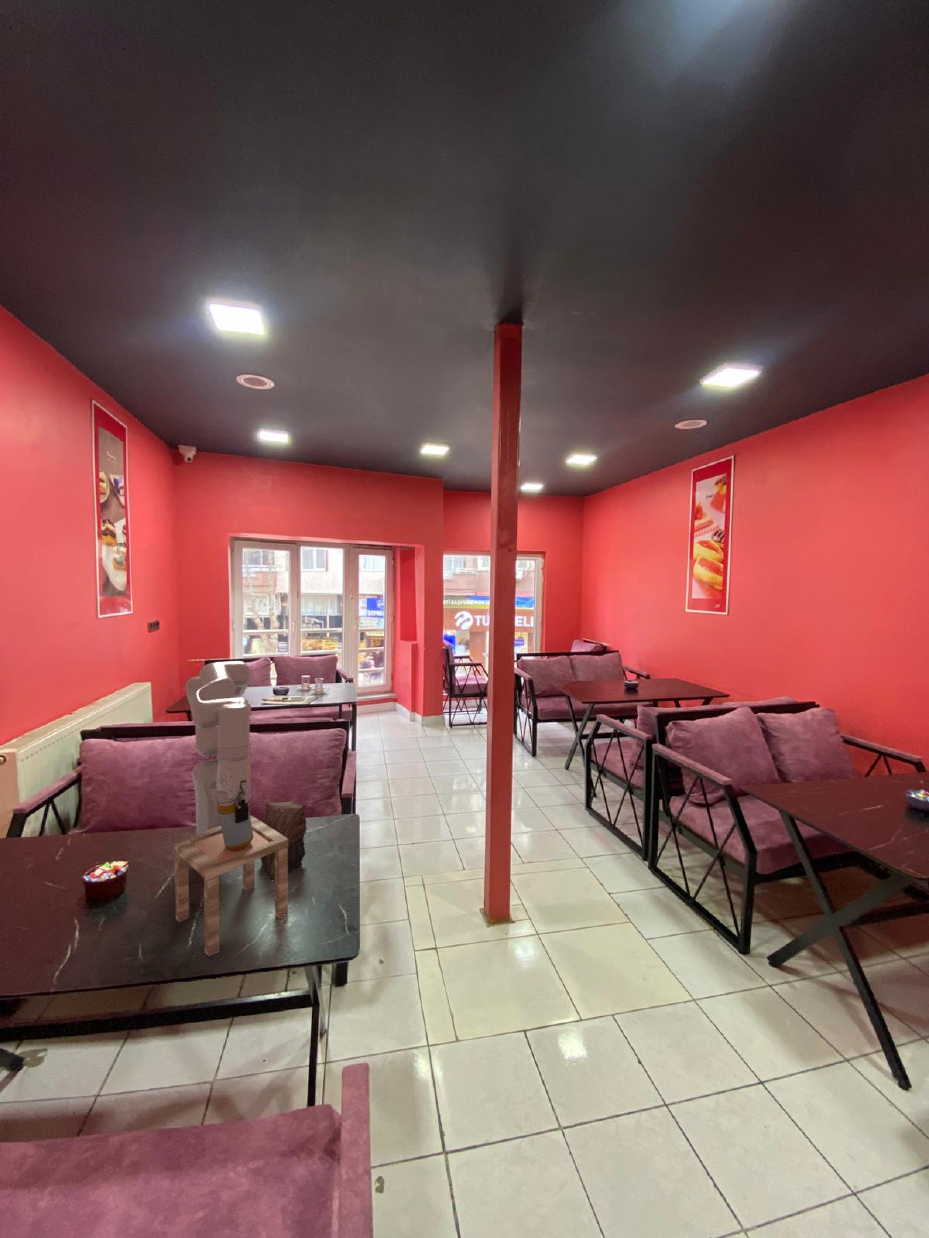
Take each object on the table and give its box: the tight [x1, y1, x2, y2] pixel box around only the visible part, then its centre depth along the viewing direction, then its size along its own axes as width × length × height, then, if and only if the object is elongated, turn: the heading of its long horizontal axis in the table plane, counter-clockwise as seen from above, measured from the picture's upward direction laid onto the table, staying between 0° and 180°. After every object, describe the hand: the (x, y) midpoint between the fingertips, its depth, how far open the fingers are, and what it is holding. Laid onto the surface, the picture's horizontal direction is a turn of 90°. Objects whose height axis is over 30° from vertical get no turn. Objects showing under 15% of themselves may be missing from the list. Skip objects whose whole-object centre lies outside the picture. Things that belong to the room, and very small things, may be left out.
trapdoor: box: [193, 831, 269, 863], centre depth 128 cm, size 14×14×1 cm
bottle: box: [217, 791, 254, 850], centre depth 126 cm, size 7×7×15 cm
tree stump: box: [260, 800, 307, 881], centre depth 153 cm, size 13×13×20 cm
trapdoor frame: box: [173, 815, 289, 957], centre depth 128 cm, size 21×21×21 cm
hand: (234, 815), depth 126 cm, fingers open, 7 cm apart
